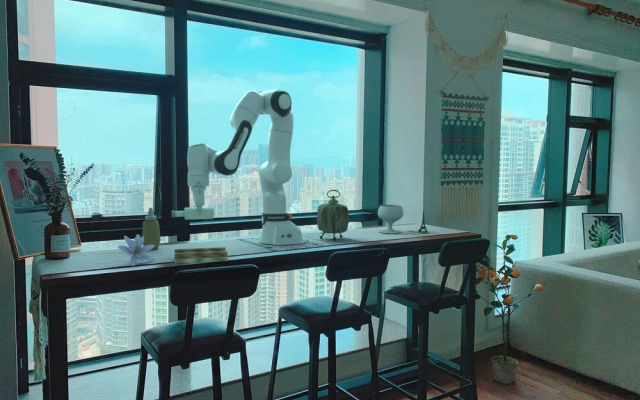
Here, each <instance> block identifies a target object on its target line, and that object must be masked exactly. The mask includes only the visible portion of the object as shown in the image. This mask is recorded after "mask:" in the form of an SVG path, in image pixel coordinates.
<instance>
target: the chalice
mask: <svg viewBox="0 0 640 400" xmlns="http://www.w3.org/2000/svg"><path fill="white" fill-rule="evenodd" d="M377 215H378V218H379V219H381V220H382V221H384V222H385V223H386V224H387V226H388V228H386V229H381V230H379V232H378V233H382V234H385V235H386V234H390V235H391V234H392V235H393V234H394V235H395V234H401V233H402V231H400V230H398V229H397V230H396V229H393V225H394V224H395V223H396V222H398V221H400V220H401V219H402V218H403V216H404V208H403V206H402V205H401V204H380V205H379V207H378V209H377Z"/></svg>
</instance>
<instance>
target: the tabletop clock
mask: <svg viewBox="0 0 640 400" xmlns="http://www.w3.org/2000/svg"><path fill="white" fill-rule="evenodd" d="M331 192H337V193H338V195H337V196H335V195H334V194H333V195H332V196H329V193H331ZM326 196H327V197H328V198H330V199H329V200H328V202H327V203H322V204H320V205H318V208H317V212H316V224H317V225H316V226H317V229H318V231H320V232H322V234H321V235H320V236H319V239H320V240H323V238H324V235H326V234H333V237H332V240H333V241H336V240H337V237H336V234H339V239H343V235H342V233H345V232H347V231H348V228H349V223H350V222H349V221H350V215H349V213H350V212H349V209H348V206H347V205H343V204H341V203H339V200H338V199H337V198H339V197H340V196H341V193H340V191H339V190H338V189H329V190H328V191H327V193H326Z"/></svg>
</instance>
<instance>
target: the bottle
mask: <svg viewBox="0 0 640 400" xmlns="http://www.w3.org/2000/svg"><path fill="white" fill-rule="evenodd" d="M176 217H177V218H178V217H179V218H181V217H183V218H184V220H185V221H186V220H206V219H207V220H209V219H210V220H211V219H215V207H214V206H202V215H201V216H198V215H197V207H193V206H192V207H184V208H183V210H171V218H176Z"/></svg>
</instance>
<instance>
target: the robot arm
mask: <svg viewBox="0 0 640 400" xmlns="http://www.w3.org/2000/svg"><path fill="white" fill-rule="evenodd" d="M292 104H293V103H292V97H291V95H290V93H288V92H287V91H285V90H281V89H269V90H265V91H259V92H258V91H256V90H249V91H247V92H245V94H243V96H242V97H241V98H240V99H239V101H238V102H237V103H236V105H235V106H234V109H233V110H232V111H231V114H230V117H229V123H230V125H231V127H232V128H233V130H234V133H233V136H232V138H231V140H230V142H229V144H228V145H227V147H226V148H225V149H224V150H223V151H222V150H221V151H218V150H216V149H215V148H212V147H210V146H209V144H207V143H203V142H201V143H194V144H191V145H190V146H189V147H188V150H187V158H186V160H187V161H186V162H187V163H186V164H187V168H188V172H187V186H188V187H190V190H191V192H192V197H193V199H192V200H193V203H194V204H195V206H196V207H197V215H198V216H201V215H202V207H205V201H206V200H205V191H206V190H207V187H209V186H210V173H212V174H216V175H222V176H232V175H233V174H235V173H236V172H237V171H238V169H239V166H240V162H241V158H242V154H243V151H244V149H245V147H246V146H247V143H248V141H249V139H250V136H251V134H252V132H253V131H252V130H253V128H254V125H255V124H256V122H257V120H258V119H259V118H260V117H259V116H260V115H268V116H270V117H269V118H270V121H271V122H270V126H269V131H268V137H267V144H266V145H267V146H266V149H267V156H268V157H267V160H266V161H265V162H262V164H261V165H260V166H259V169H258V175H259V180H260V187H261V191H262V192H261V193H262V213H261V224H262V228H261V235H260V238H259V242H260V243H261V244H265V245H274V246H284V245H298V244H306V243H307V239H306V238H305V237H303V235H302V229H301V228H300V227H299V226H297V225H296V223H294V222H292V221H291V219H293V217H294V216H293V215H292V214H291V213H290V214H289V213H288V212H287V196H286V193H285V190H284V189H285V188H284V184H285V183H288V182H289V181H290V180H291V179H292V176H293V172H292V167H291V146H292V140H293V133H294V132H293V131H294V115H293V113H292Z"/></svg>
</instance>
